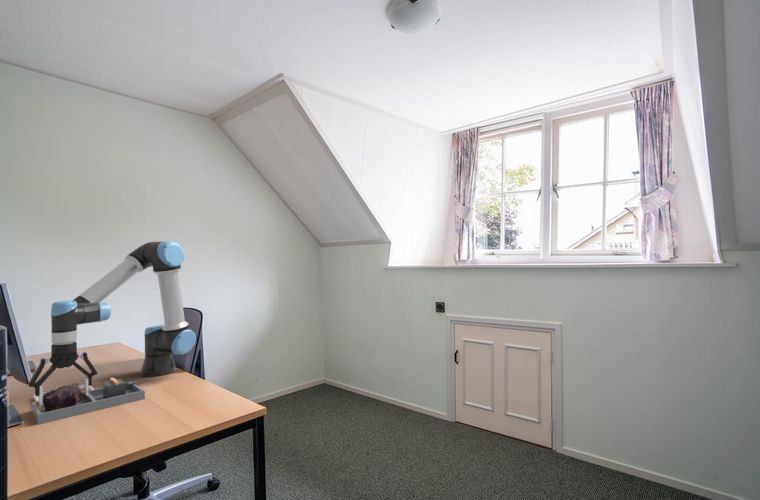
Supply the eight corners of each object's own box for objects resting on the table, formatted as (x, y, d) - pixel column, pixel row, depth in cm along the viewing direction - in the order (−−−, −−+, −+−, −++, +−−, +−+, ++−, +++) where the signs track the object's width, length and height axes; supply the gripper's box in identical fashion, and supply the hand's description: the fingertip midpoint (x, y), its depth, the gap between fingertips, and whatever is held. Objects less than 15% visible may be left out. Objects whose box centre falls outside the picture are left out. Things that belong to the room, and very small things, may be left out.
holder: (132, 389, 174) (132, 371, 175) (144, 398, 163) (144, 379, 163) (31, 411, 151) (31, 390, 151) (37, 424, 139) (37, 401, 139)
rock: (46, 411, 151) (45, 419, 143) (41, 389, 151) (39, 396, 143) (84, 399, 159) (85, 406, 151) (80, 378, 158) (80, 384, 150)
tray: (88, 387, 178) (88, 383, 178) (97, 396, 166) (97, 392, 166) (33, 398, 165) (33, 394, 165) (39, 408, 153) (39, 404, 153)
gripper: (101, 336, 163) (101, 388, 163) (18, 346, 145) (18, 406, 145) (106, 338, 157) (106, 393, 157) (20, 350, 140) (20, 411, 139)
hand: (64, 399), depth 151 cm, fingers open, 13 cm apart
